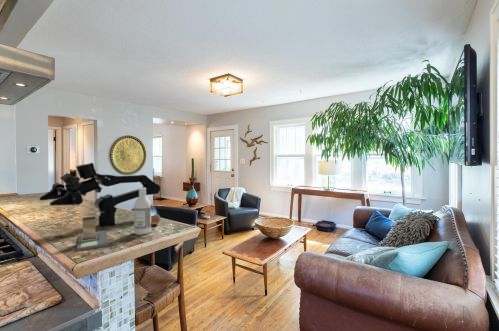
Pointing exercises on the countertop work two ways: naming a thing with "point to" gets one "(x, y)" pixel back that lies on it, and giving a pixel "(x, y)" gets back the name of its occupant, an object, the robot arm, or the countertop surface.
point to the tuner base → (93, 241)
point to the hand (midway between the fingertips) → (44, 201)
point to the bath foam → (142, 214)
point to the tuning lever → (88, 228)
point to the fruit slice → (155, 220)
